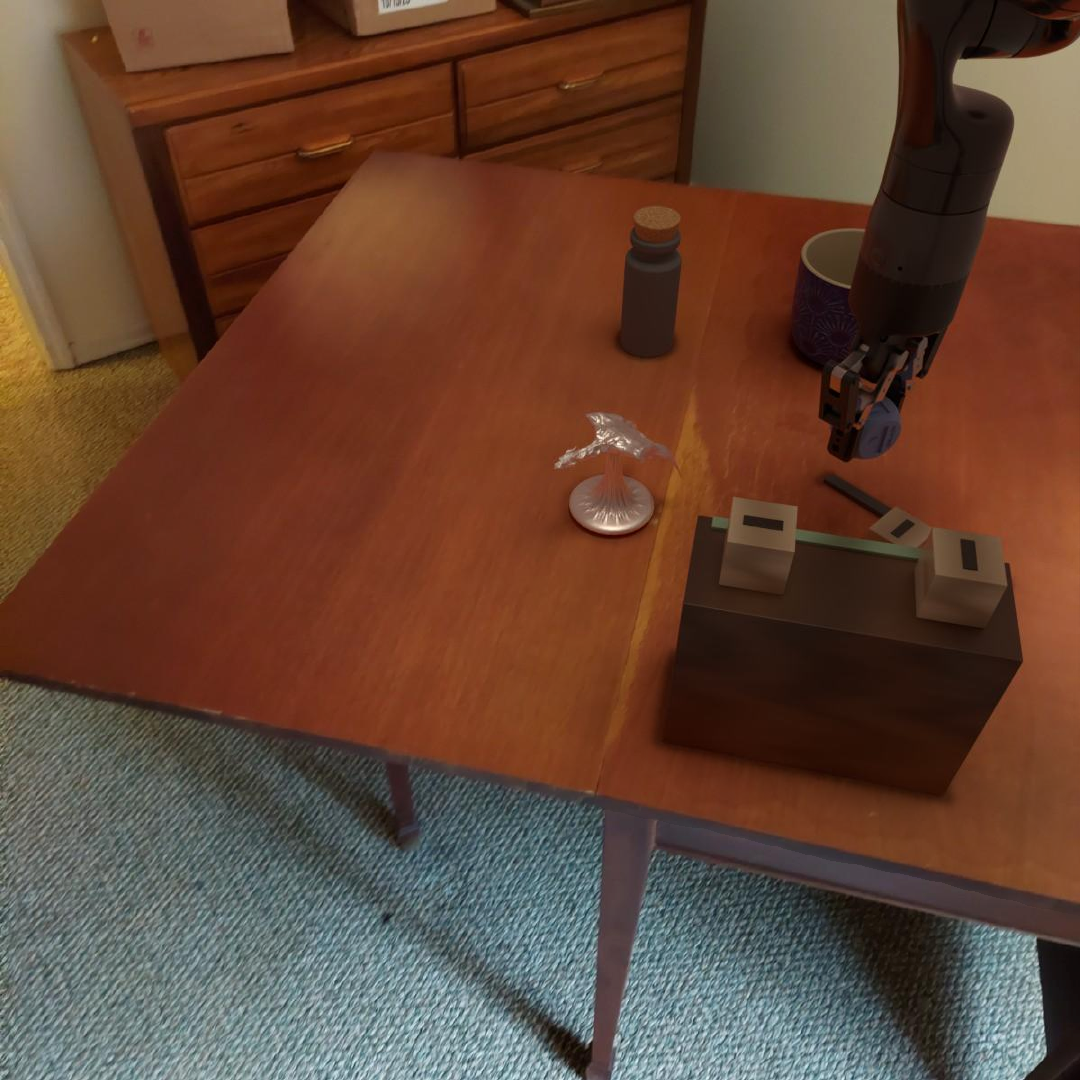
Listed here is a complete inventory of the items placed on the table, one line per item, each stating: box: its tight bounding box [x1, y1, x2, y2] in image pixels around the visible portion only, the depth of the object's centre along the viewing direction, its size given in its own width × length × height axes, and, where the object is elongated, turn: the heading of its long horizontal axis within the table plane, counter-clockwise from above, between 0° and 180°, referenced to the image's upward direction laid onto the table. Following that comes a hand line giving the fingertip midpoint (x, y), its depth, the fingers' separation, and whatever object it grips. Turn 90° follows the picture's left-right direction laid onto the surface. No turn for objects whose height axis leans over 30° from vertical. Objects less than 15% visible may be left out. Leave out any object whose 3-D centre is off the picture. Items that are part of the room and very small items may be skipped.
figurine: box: [553, 411, 683, 536], centre depth 84 cm, size 8×12×10 cm, turn 126°
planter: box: [790, 227, 866, 366], centre depth 101 cm, size 12×12×11 cm
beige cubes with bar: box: [823, 473, 933, 548], centre depth 83 cm, size 18×7×4 cm, turn 42°
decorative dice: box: [829, 396, 902, 460], centre depth 78 cm, size 4×4×4 cm
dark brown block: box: [661, 496, 1024, 797], centre depth 64 cm, size 20×8×20 cm, turn 77°
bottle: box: [619, 205, 683, 359], centre depth 100 cm, size 6×6×15 cm
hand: (860, 440), depth 79 cm, fingers closed on decorative dice, 5 cm apart
